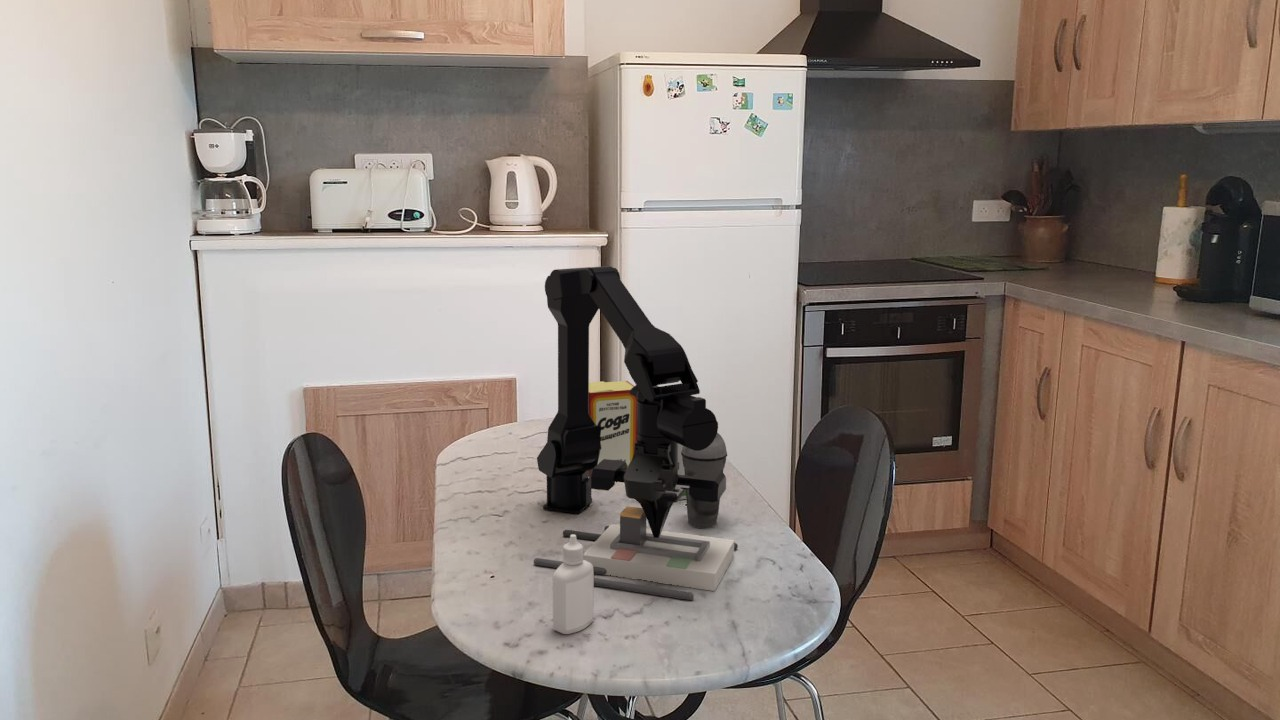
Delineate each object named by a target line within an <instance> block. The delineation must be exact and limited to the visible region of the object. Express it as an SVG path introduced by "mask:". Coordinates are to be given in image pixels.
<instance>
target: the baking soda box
mask: <svg viewBox="0 0 1280 720" xmlns="http://www.w3.org/2000/svg"><path fill="white" fill-rule="evenodd" d="M634 386H635V385H634V384H632V383H631V382H629V381H628V380H622V381H618V380H617V381H607V382H605V381H604V380H603V381H601V380H600V381H595V382H589V415H590V416H591V418H592V420H593V421H594V423H595V424H596V425H599V427H600V429H601V435H600V443H601V450H600V455H599V459H598V464H599V463H600V462H601V461H602V460H603V459H608V460H618V461H626V464H627V468H628V466H629V464H630V462H631V461H632V458H633V455H634V447H635V442H636V441H637V397H635V396H633V395H631V394H630V390H631V389H632V388H633V387H634ZM598 464H597V465H598ZM590 471H591V470H588V478H589V474H590Z"/></svg>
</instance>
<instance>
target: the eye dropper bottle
mask: <svg viewBox="0 0 1280 720" xmlns="http://www.w3.org/2000/svg"><path fill="white" fill-rule="evenodd" d="M568 540H569V541H568V542H567V543H565V544H564V545H563V546H562V547H563V548H562V549H563V553H562V555H563V556H562V557H563V561H562V562H564V563H562V564H561V565H560V566H559V567H558V568H556V569H555V571H554V573H553V575H552V629H553V630H554V631H555V632H558V633H560V634H562V635H571V634H575V633H578V632H580V631H582V630H585V629H586V628H587V627H589V626H590V625H591V624H592V623H593V621H594V618H595V614H594V613H595V606H594V605H595V604H594V602H595V599H594V598H595V585H594V578H595V576H594V575H595V574H594V572H593V565H592V564H591V563H590V562H588V561H585V560H583V554H584V546H583V544H581V543H580V542H579V541H578V538H576V535H574V534H572V535H570V537H569V539H568Z"/></svg>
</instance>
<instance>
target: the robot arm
mask: <svg viewBox="0 0 1280 720" xmlns="http://www.w3.org/2000/svg"><path fill="white" fill-rule="evenodd" d="M620 276H621V275H620V272H619V270H618V269H617V268H616V267H613V266H610V265H608V266H607V265H605V266H591V267H590V266H588V267H574V268H561V269H560V268H557V269H553V270H552V271H551V272H550V275H547V277H546V279H545V281H544V292H545V296H546V301H547V303H546V305H547V308H548V309H549V312H550V314H551V315H552V316H553V318H554V320H555V321H556V323H557V382H558V383H557V404H558V405H557V412H556V415H555V416H554V417H553V419H552V421H551V423H550V424H549V426H548V428H547V429H548V430H547V436H546V437H547V439H546V442H545V445H544V446H543V448H542V449H541V451H540V453H539V454H538V455H537V456H536V457H537V458H536V461H537V462H536V464H537V468H538V471H539V472H541V473H542V474H544V475H545V476H546V502H545V504H543V505H542V509H543V510H546V511H548V510H549V511H553V512H555V511H556V512H563V513H571V514H580V513H581V512H582V511H584V510H585V509H586V508H587V507H588V506H589V504H591V503H592V502H593V498H592V490H598V491H610V490H611V489H612V488H613V487H614V486H615V485H616V483H624V490H625V495H626V497H627V498H629V499H631V500H632V499H634V500H636V502H637V503H639V505H640V506H641V507H640V508H643V510H644V512H645V515H646V521H647V523H648V526H649V529H651V531H652V534H653V536H654V538H659V537H660V535H661V532H662V531H663V529H664V526H665V523H666V521H667V518H668V516H669V514H670V510H671V508H672V506H673V504H675V503H678V502H679V501H680V500H679V499H680V498H681V497H682V495H683V494H684V493H685V492H686V489H687V490H689V495H690V496H691V497H692V498H693V499H694V500H696V501H705V502H717V501H718V500H719V499H720V500H721V497H722V496H723V494H724V493H725V491H726V490H727V477H726V474H725V473H724V471H723V472H722V471H716V470H706V469H698V470H697V472H696V473H695V474H694V475H693V476H687V475H678V470H679V462H678V444H680V445H683V446H685V447H687V448H689V449H692V450H695V451H700V450H703V449H705V448H707V447H708V446H710V444H711V443H712V442H713V441H714V439H715V437H716V435H717V433H718V432H719V431H718V430H719V422H718V420H717V417H716V414H715V413H714V412H713V411H712V410H711V409H708V408H707V400H706V398H703V397H701V396H695V395H699V394H700V393H701V390H700V387H699V384H698V382H699V380H698V379H697V377H696V374H695V373H694V371H693V369H692V366H691V363H690V361H689V359H688V355H687V353H686V352H685V349H684V348H683V346H682V345H681V344H680V343H679V342H678V341H677V340H676V339H675V338H674V336H672V335H671V334H670V333H668V332H666V331H664V330H661V329H660V328H658V327H656V326H654V325H653V324H652V322H651V321H650V320H649V318H648V317H647V315H646V314H645V313H644V311H643V310H642V308H641V307H640V305H639V304H638V303H637V301H636V299H635V298H634V296H632V294H631V293H630V291H629V290H628V289H627V287H626V286H625V285H624V283H623V281H622V280H621V277H620ZM598 311H600V312H601V314H602V315H603V317H604V318H605V320H606V321H607V323H608V324H609V326H610V327H611V329H612V330H613V332H614V333H615V335H616V336H617V337H618V339H619V340H620V342H621V343H622V345H623V348H624V359H623V360H624V361H623V363H624V364H625V367H626V369H627V371H628V373H629V375H630V377H631V379H632V380H633V382H634V383H635V385H634V387H633V388H632V389H631V390H630V394H631V395H633V396H635V397H637V441H636V442H635V447H634V455H633V458H632V461H631V462H630V464H629V466H628V468H627V464H626V461H618V460H608V459H603V460H602V461H601V462H600V463H599V464H598V459H599V455H600V450H601V443H600V435H601V429H600V427H599V425H596V424H595V423H594V421H593V420H592V418H591V416H590V415H589V383H590V382H589V381H590V379H589V378H590V324H591V323H592V321H593V319H594V318H595V316H596V315H597V312H598ZM679 382H681V383H679ZM675 383H676V384H675ZM667 384H668V385H667ZM662 385H663V386H662ZM597 464H598V465H597ZM588 470H591V471H590V474H589V477H588Z"/></svg>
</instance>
